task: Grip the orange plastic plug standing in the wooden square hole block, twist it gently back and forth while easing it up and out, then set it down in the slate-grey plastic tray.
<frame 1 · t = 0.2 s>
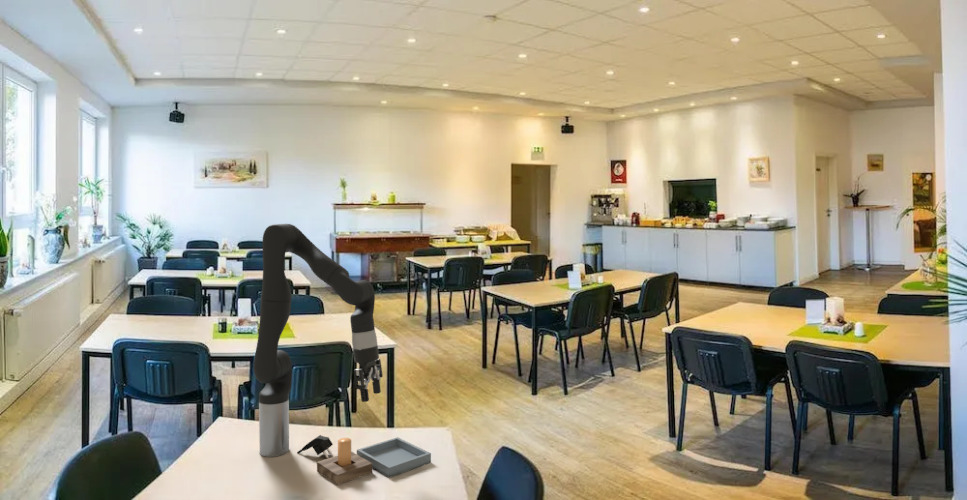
hand: (371, 397, 188), 22 cm above the table, tool pointing down, fingers open, 8 cm apart
slate tray: (393, 460, 194), on the table
wooden square hole block: (344, 472, 185), on the table
orange plug: (344, 456, 185), in the wooden square hole block
power plug: (314, 456, 198), on the table
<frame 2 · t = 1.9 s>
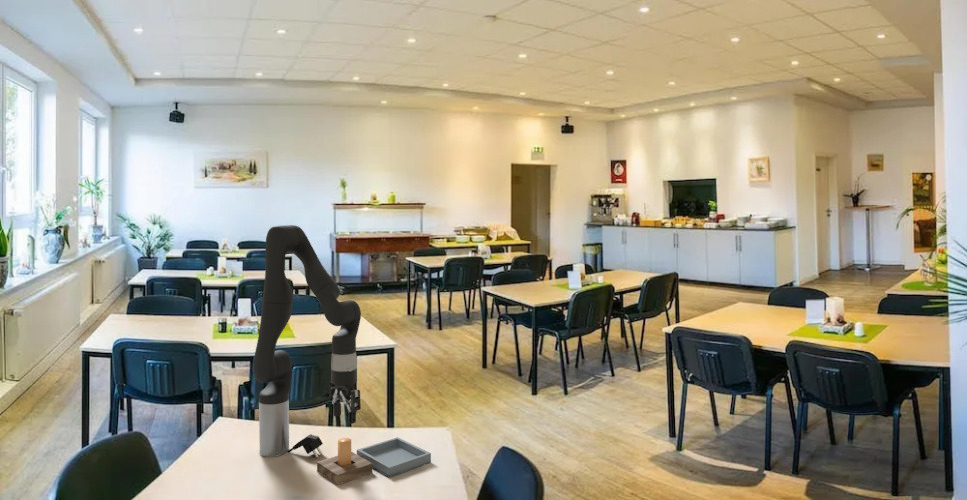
hand: (344, 419, 184), 16 cm above the table, tool pointing down, fingers open, 8 cm apart
power plug: (304, 455, 198), on the table, touching arm
everything else where it was.
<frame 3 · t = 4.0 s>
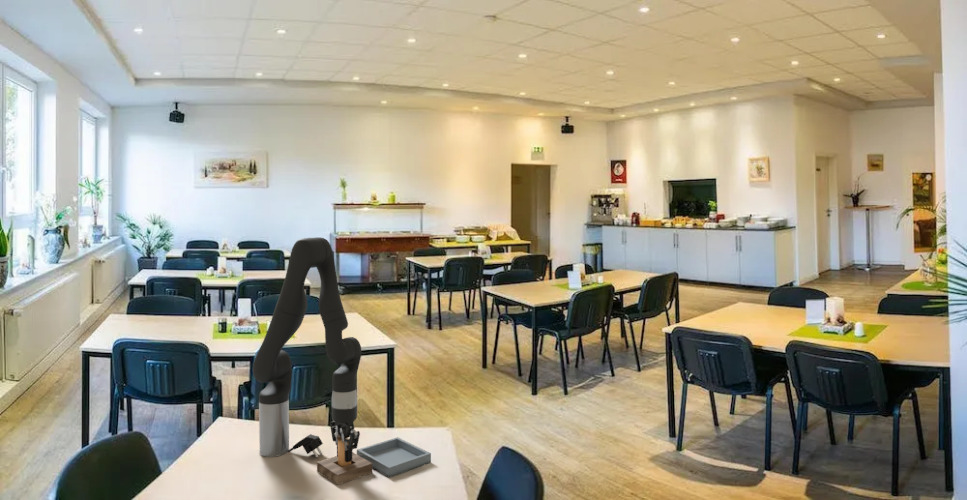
hand: (344, 458, 185), 4 cm above the table, tool pointing down, fingers closed on orange plug, 4 cm apart
orange plug: (344, 456, 185), in the wooden square hole block, touching gripper
everything else where it was.
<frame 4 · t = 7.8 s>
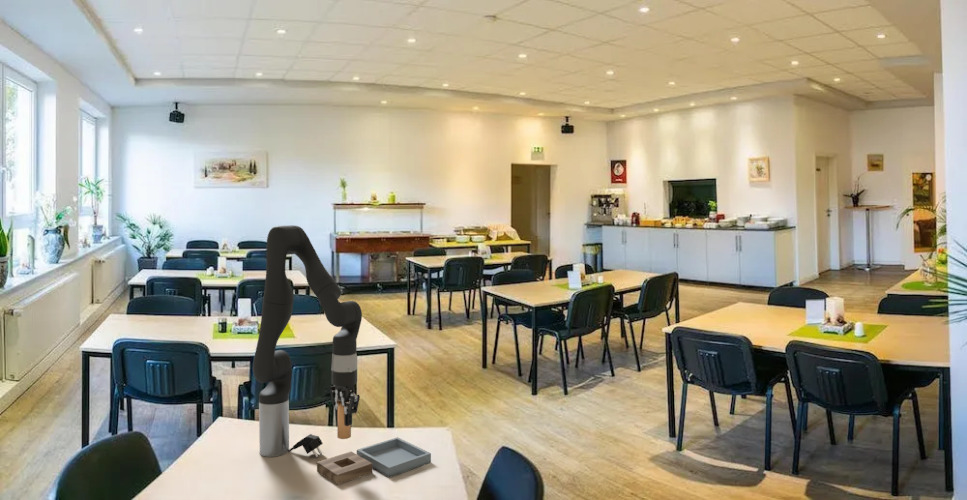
hand: (344, 422, 184), 15 cm above the table, tool pointing down, fingers closed on orange plug, 4 cm apart
orange plug: (344, 420, 184), point 16 cm above the table, touching gripper
everything else where it was.
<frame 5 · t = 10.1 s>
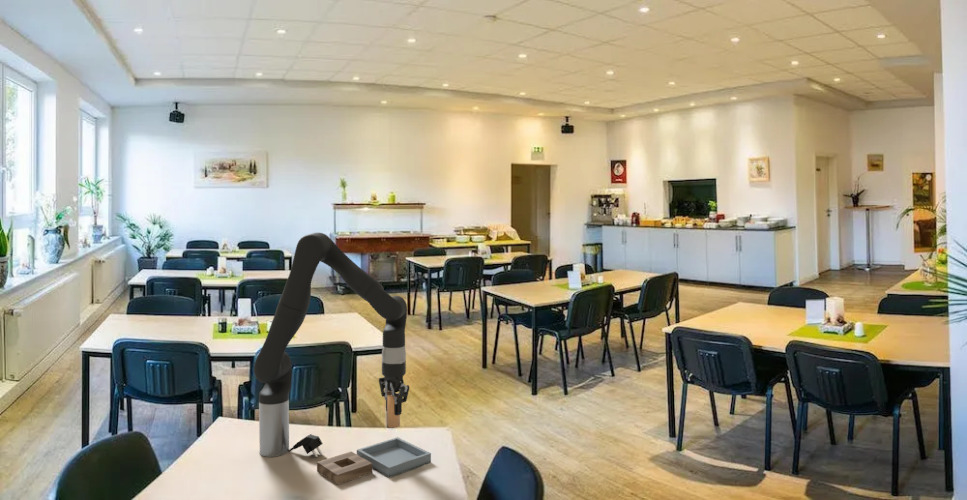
hand: (393, 412, 193), 16 cm above the table, tool pointing down, fingers closed on orange plug, 4 cm apart
orange plug: (393, 410, 193), point 16 cm above the table, touching gripper
everything else where it was.
when the fingers open (6 cm above the table, at t = 12.0 s): orange plug stays where it is, point 7 cm above the table.
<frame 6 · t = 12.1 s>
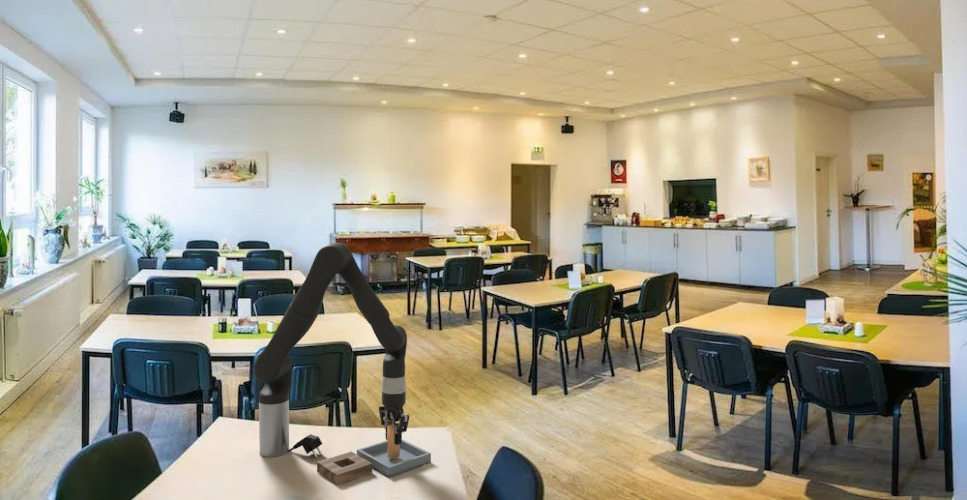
hand: (393, 441, 194), 6 cm above the table, tool pointing down, fingers open, 4 cm apart
orange plug: (393, 440, 194), in the slate tray, point 7 cm above the table
everything else where it was.
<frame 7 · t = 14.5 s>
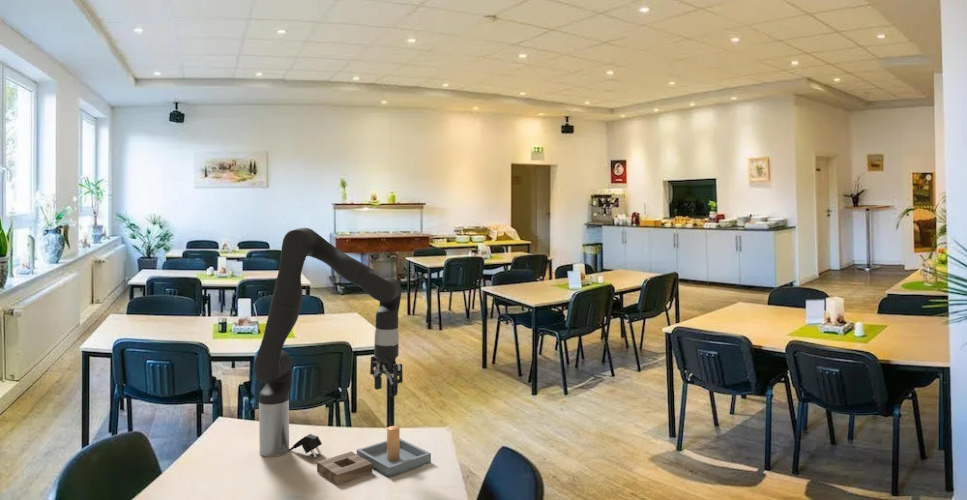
hand: (385, 392, 192), 22 cm above the table, tool pointing down, fingers open, 8 cm apart
orange plug: (393, 443, 194), in the slate tray, point 6 cm above the table
power plug: (304, 454, 199), on the table
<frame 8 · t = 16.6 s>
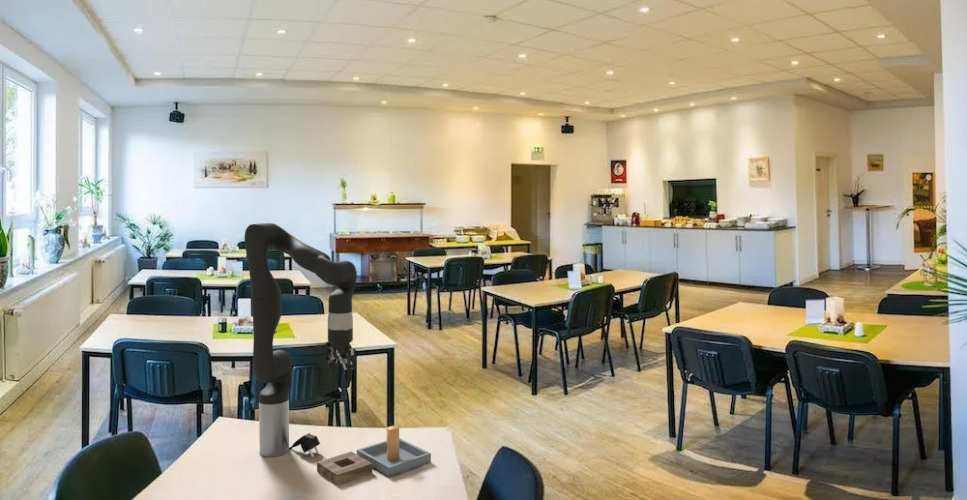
hand: (340, 378, 187), 28 cm above the table, tool pointing down, fingers open, 8 cm apart
power plug: (303, 453, 200), on the table, touching arm
everything else where it was.
at the end: orange plug inside the target area on the slate tray (0.1 cm from its centre), point 5.6 cm above the slate tray's base; the gripper is holding nothing; orange plug moved 16.2 cm from its start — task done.
